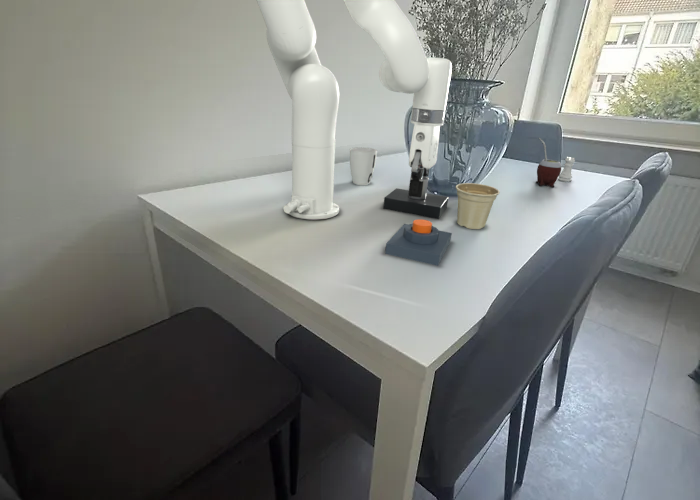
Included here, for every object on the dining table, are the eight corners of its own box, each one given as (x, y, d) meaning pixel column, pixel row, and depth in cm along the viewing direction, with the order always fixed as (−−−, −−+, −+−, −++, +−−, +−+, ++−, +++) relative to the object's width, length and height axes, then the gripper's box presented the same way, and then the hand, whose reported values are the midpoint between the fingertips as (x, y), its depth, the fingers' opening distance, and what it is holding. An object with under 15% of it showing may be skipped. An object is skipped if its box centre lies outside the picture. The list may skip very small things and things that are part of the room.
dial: (427, 196, 99) (430, 175, 97) (423, 200, 95) (426, 179, 93) (410, 193, 100) (413, 173, 98) (406, 197, 97) (408, 176, 94)
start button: (428, 236, 73) (429, 227, 72) (409, 232, 74) (411, 223, 73) (432, 229, 76) (434, 221, 75) (414, 226, 77) (415, 218, 76)
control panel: (446, 208, 101) (448, 196, 100) (438, 219, 92) (440, 207, 91) (395, 198, 106) (396, 188, 104) (383, 209, 97) (384, 197, 96)
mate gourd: (560, 186, 129) (573, 140, 123) (547, 189, 125) (560, 141, 119) (539, 181, 135) (551, 136, 128) (526, 183, 130) (538, 137, 124)
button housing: (438, 266, 70) (441, 245, 68) (385, 253, 73) (387, 234, 71) (450, 242, 80) (453, 224, 78) (403, 233, 83) (405, 215, 81)
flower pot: (467, 234, 84) (474, 196, 81) (441, 219, 92) (447, 184, 89) (500, 230, 88) (509, 193, 84) (473, 216, 96) (479, 182, 92)
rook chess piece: (558, 178, 140) (564, 155, 137) (572, 180, 138) (579, 157, 135) (556, 180, 137) (562, 157, 134) (570, 182, 135) (577, 159, 131)
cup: (374, 187, 115) (377, 153, 111) (347, 185, 115) (349, 151, 111) (373, 180, 122) (376, 148, 118) (348, 178, 122) (349, 146, 118)
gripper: (436, 122, 81) (424, 205, 89) (450, 116, 96) (439, 188, 103) (401, 118, 84) (392, 199, 91) (420, 113, 98) (411, 184, 106)
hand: (417, 193), depth 97 cm, fingers closed on dial, 4 cm apart
